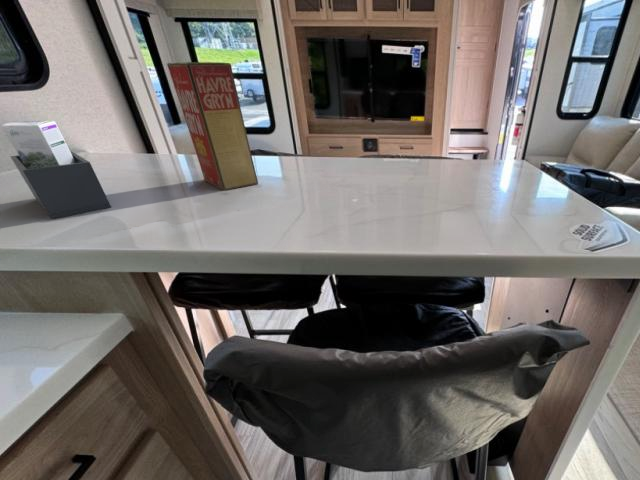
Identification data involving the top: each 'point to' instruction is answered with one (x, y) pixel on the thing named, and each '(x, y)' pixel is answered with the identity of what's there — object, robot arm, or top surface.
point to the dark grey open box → (65, 187)
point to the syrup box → (38, 143)
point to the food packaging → (215, 122)
